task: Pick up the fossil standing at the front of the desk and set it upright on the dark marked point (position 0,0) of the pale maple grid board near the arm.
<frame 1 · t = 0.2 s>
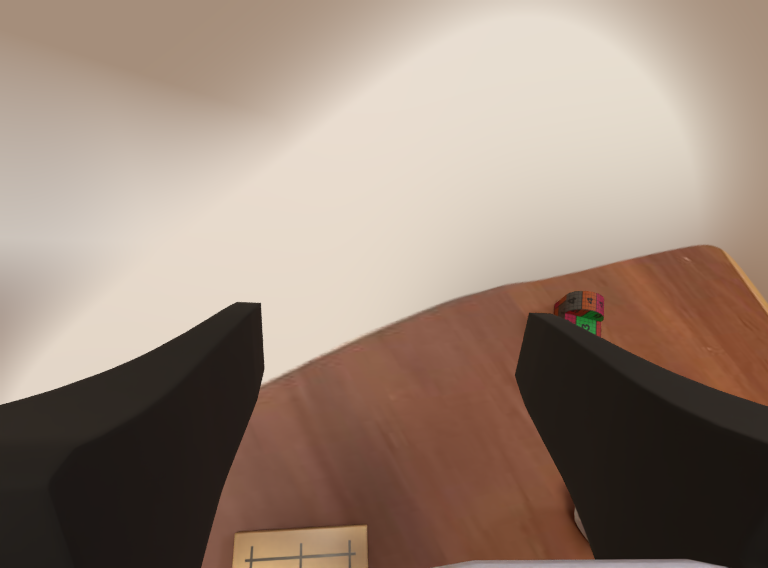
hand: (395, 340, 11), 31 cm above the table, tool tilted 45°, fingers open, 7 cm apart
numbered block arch: (560, 341, 45), on the table
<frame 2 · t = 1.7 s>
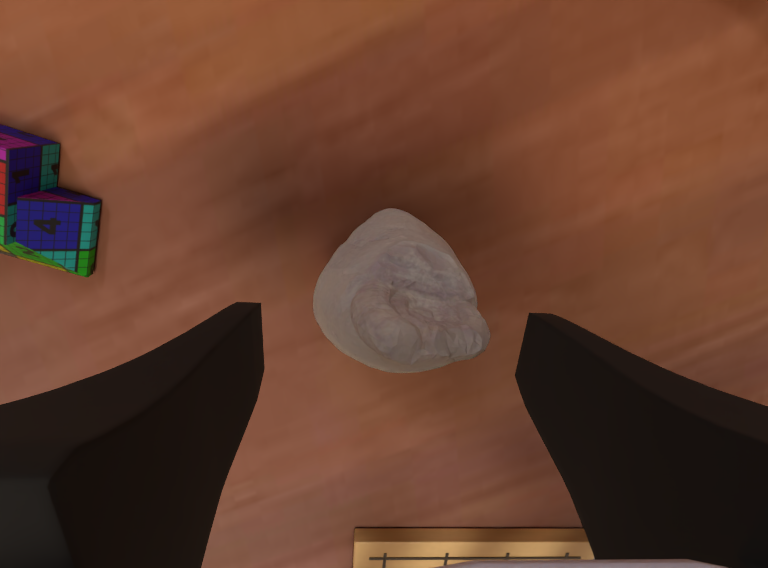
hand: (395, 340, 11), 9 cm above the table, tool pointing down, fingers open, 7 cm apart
fossil: (381, 237, 20), on the table
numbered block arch: (3, 188, 18), on the table
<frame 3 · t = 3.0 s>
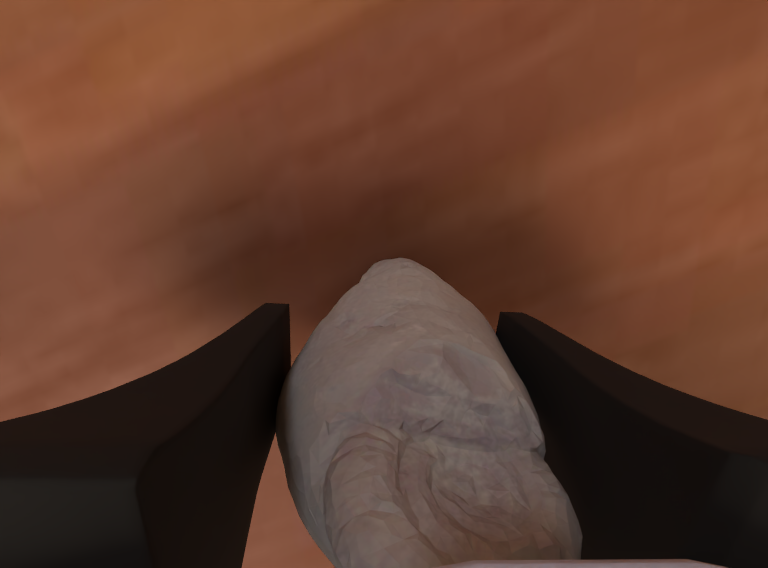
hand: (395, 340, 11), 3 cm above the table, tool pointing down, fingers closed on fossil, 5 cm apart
fossil: (384, 291, 14), on the table, touching gripper
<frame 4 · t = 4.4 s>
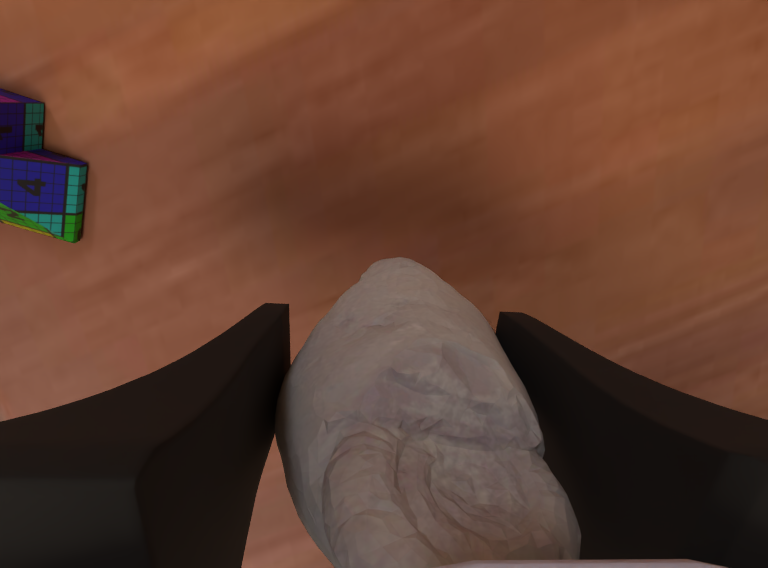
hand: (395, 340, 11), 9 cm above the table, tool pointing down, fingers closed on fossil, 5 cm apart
fossil: (383, 291, 14), point 6 cm above the table, touching gripper
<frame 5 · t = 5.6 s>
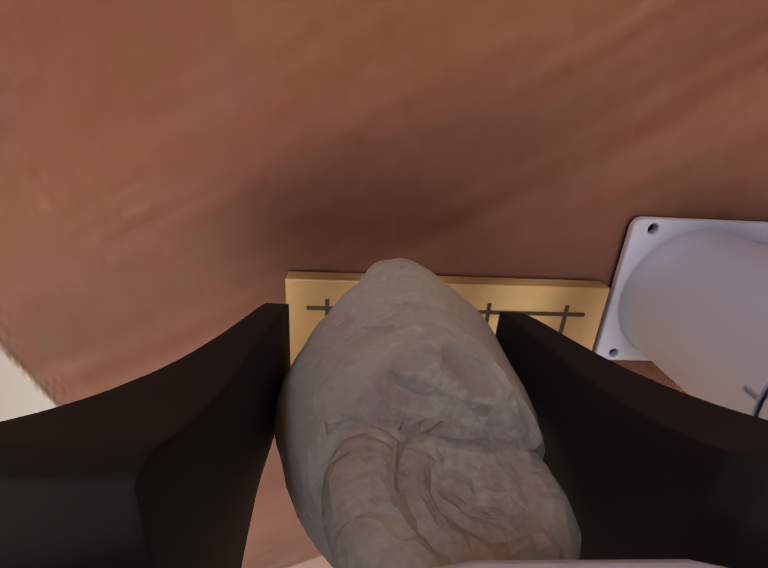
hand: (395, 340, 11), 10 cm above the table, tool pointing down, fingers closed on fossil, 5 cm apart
fossil: (383, 292, 14), point 7 cm above the table, touching gripper
grid board: (436, 366, 24), on the table
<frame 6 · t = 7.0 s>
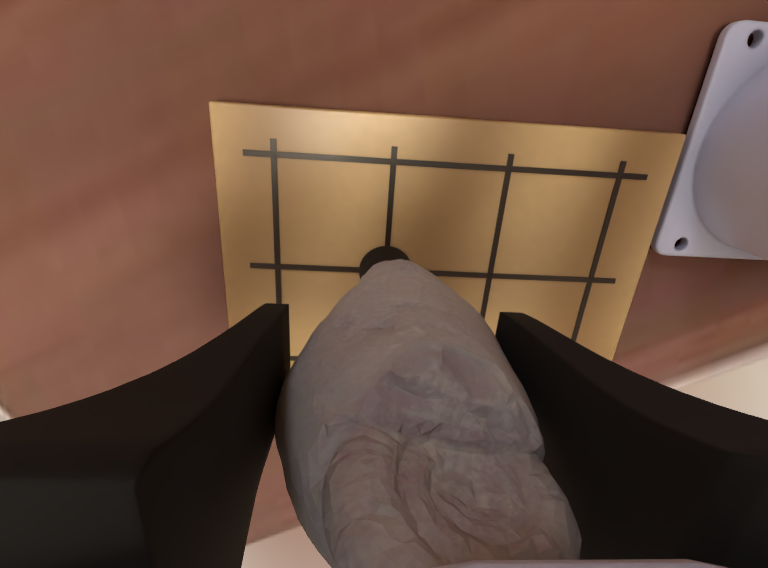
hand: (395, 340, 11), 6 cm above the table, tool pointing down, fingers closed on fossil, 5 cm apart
fossil: (383, 293, 14), point 3 cm above the table, touching gripper
grid board: (433, 263, 17), on the table
when the fingers open (4 cm above the table, at t = 8.2 s): fossil stays where it is, resting on grid board.
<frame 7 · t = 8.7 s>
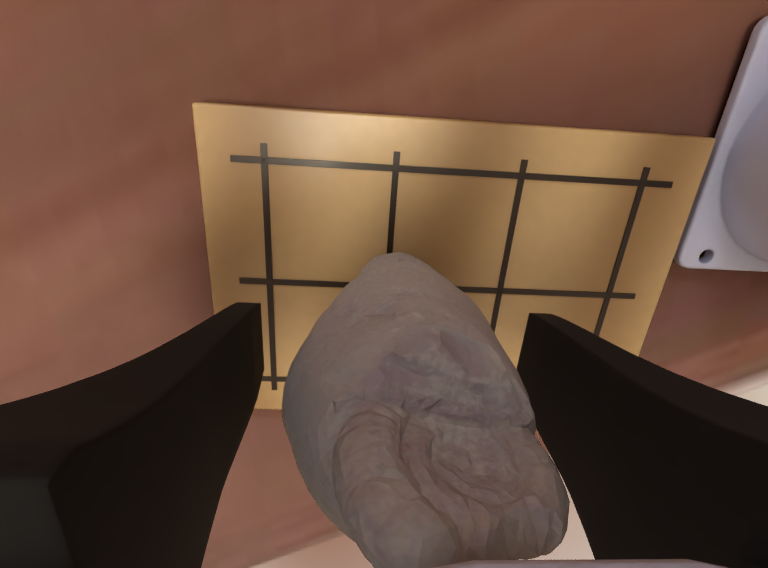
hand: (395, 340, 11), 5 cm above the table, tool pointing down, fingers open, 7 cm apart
fossil: (382, 285, 15), point 1 cm above the table, touching grid board
grid board: (438, 277, 16), on the table
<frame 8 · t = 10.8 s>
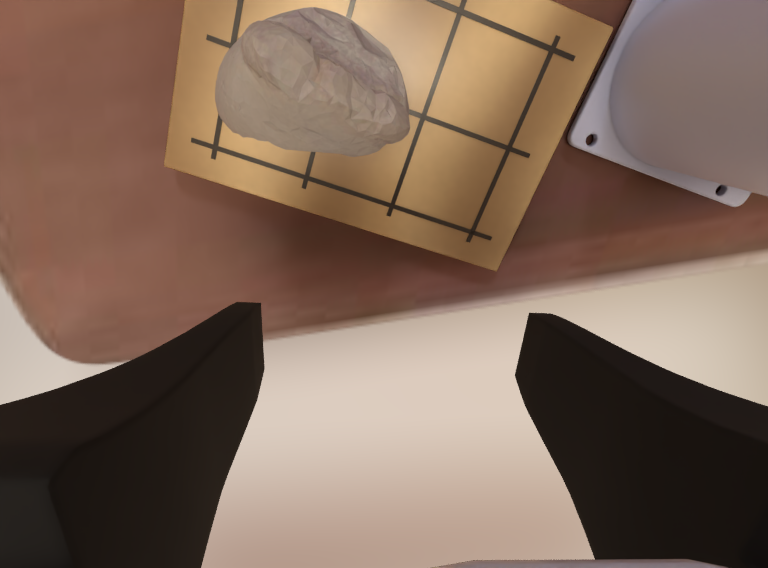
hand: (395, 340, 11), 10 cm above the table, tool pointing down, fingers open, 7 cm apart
fossil: (327, 82, 17), point 1 cm above the table, touching grid board
grid board: (377, 99, 19), on the table
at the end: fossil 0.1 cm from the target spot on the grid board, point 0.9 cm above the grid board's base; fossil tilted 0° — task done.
